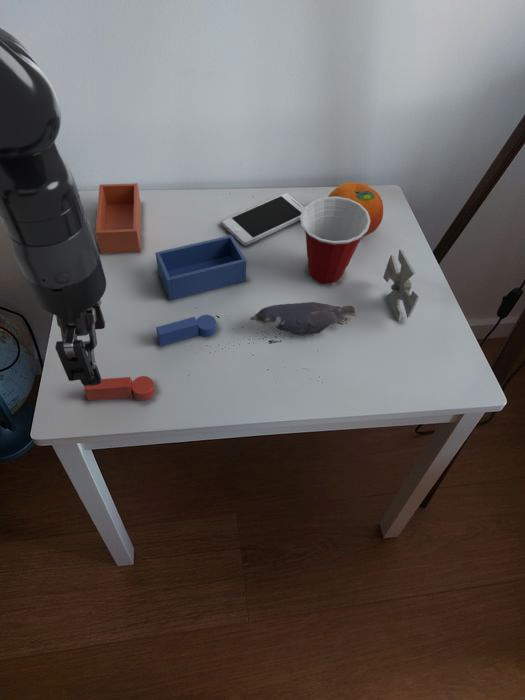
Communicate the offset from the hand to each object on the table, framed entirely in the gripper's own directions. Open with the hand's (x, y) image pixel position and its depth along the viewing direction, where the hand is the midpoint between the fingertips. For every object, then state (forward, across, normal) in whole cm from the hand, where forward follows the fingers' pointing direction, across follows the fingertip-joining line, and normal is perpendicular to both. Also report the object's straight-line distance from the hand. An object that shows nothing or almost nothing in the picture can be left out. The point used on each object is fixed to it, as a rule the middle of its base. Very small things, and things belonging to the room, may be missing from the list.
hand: (94, 353), depth 64 cm
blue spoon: (+10, -10, +11) cm, 18 cm away
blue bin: (+10, -22, +14) cm, 28 cm away
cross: (+10, -13, +45) cm, 48 cm away
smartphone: (+10, -36, +27) cm, 46 cm away
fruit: (+10, -33, +42) cm, 54 cm away
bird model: (+10, -9, +29) cm, 32 cm away
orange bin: (+10, -35, 0) cm, 36 cm away
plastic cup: (+10, -21, +35) cm, 42 cm away
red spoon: (+9, 0, +2) cm, 10 cm away
